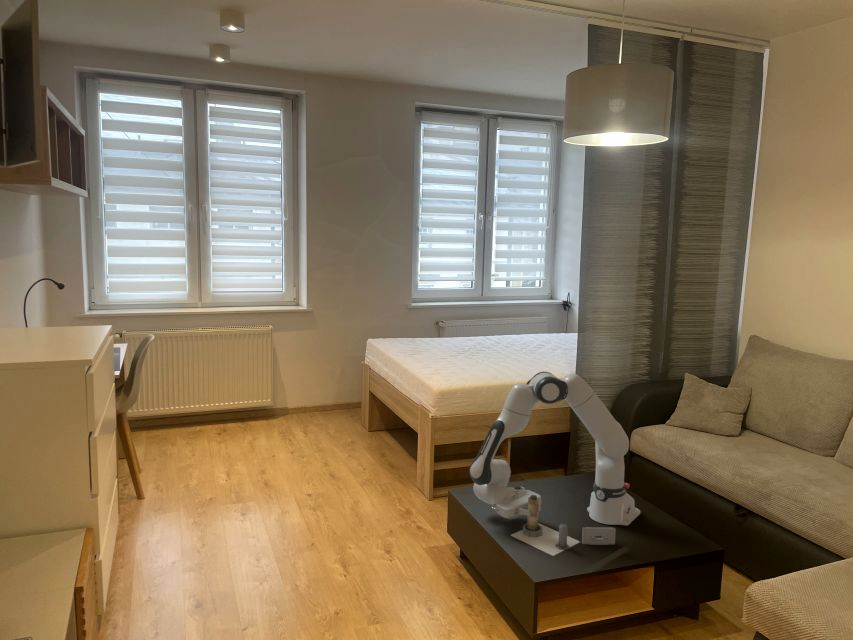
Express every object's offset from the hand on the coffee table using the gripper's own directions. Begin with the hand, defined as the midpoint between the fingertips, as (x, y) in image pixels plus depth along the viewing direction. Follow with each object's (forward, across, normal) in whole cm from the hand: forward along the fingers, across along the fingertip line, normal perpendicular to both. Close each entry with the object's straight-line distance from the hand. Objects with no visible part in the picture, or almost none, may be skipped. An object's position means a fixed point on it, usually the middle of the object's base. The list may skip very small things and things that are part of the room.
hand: (535, 511), depth 242 cm
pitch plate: (+5, 0, +10) cm, 11 cm away
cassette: (+20, +12, +10) cm, 26 cm away
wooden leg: (-1, 0, +7) cm, 7 cm away
